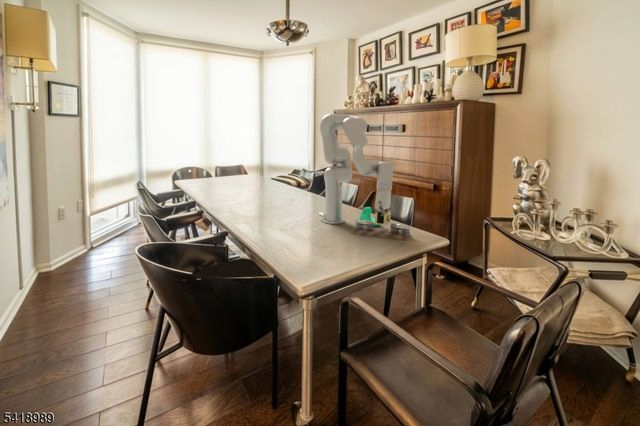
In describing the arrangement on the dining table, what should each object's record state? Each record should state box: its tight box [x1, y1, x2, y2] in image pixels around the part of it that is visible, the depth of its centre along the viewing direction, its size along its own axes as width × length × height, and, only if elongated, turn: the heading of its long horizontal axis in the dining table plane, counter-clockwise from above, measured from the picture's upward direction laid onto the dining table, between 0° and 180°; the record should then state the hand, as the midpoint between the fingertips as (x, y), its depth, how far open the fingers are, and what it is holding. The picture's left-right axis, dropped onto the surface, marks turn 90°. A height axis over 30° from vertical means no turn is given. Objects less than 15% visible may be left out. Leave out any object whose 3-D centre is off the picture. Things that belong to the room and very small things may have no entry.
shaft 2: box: [389, 222, 411, 236], centre depth 178 cm, size 9×4×5 cm, turn 56°
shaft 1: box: [355, 219, 375, 231], centre depth 185 cm, size 9×4×5 cm, turn 76°
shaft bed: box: [353, 226, 411, 241], centre depth 182 cm, size 26×11×2 cm, turn 66°
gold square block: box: [374, 210, 392, 226], centre depth 181 cm, size 7×6×6 cm
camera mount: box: [358, 206, 382, 227], centre depth 200 cm, size 12×8×10 cm, turn 22°
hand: (382, 221), depth 181 cm, fingers closed on gold square block, 6 cm apart
